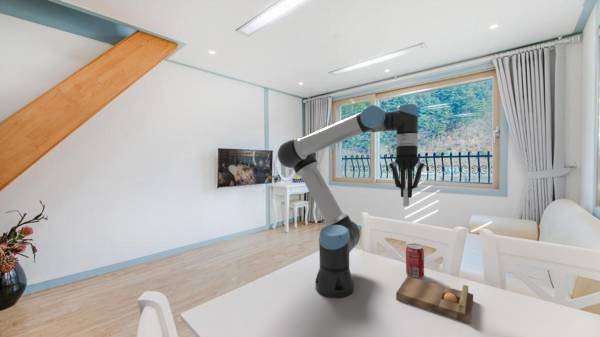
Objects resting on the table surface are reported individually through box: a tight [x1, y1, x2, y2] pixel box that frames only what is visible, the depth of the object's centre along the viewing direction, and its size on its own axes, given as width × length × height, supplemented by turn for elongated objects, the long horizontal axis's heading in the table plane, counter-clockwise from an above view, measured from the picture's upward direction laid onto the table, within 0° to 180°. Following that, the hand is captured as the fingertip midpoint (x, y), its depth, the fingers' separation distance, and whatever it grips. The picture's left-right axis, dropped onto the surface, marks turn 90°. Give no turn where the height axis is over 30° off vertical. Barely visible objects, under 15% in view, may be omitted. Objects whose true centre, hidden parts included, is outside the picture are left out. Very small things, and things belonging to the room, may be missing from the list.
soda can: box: [405, 243, 425, 280], centre depth 106 cm, size 7×7×13 cm
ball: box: [443, 293, 457, 304], centre depth 85 cm, size 4×4×4 cm
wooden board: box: [395, 275, 474, 324], centre depth 88 cm, size 22×15×5 cm
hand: (406, 205), depth 96 cm, fingers closed
